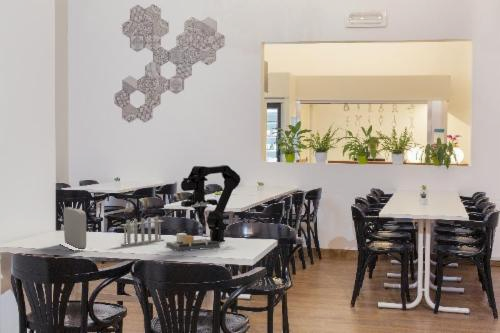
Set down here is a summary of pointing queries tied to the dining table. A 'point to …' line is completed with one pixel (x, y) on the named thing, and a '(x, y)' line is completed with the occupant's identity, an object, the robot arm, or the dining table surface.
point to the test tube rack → (142, 231)
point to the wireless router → (75, 227)
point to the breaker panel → (176, 246)
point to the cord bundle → (198, 244)
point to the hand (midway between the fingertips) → (199, 219)
